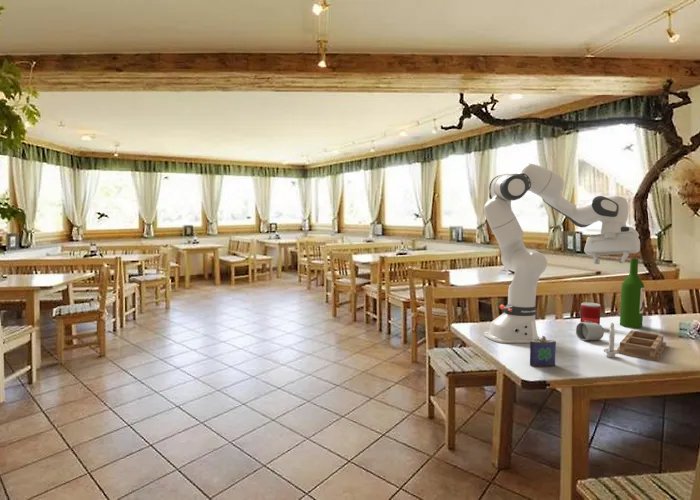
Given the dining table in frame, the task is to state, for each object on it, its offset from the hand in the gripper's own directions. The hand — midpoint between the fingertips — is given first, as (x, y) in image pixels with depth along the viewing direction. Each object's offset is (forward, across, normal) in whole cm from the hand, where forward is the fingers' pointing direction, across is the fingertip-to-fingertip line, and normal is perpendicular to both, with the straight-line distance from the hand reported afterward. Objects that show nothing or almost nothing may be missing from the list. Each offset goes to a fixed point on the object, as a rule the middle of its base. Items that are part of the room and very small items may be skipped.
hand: (608, 263), depth 169 cm
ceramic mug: (+29, -12, +14) cm, 35 cm away
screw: (+38, +5, +1) cm, 38 cm away
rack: (+29, +8, +19) cm, 36 cm away
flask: (+50, -5, -26) cm, 57 cm away
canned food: (+18, -21, +33) cm, 43 cm away
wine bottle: (+12, -10, +49) cm, 51 cm away
